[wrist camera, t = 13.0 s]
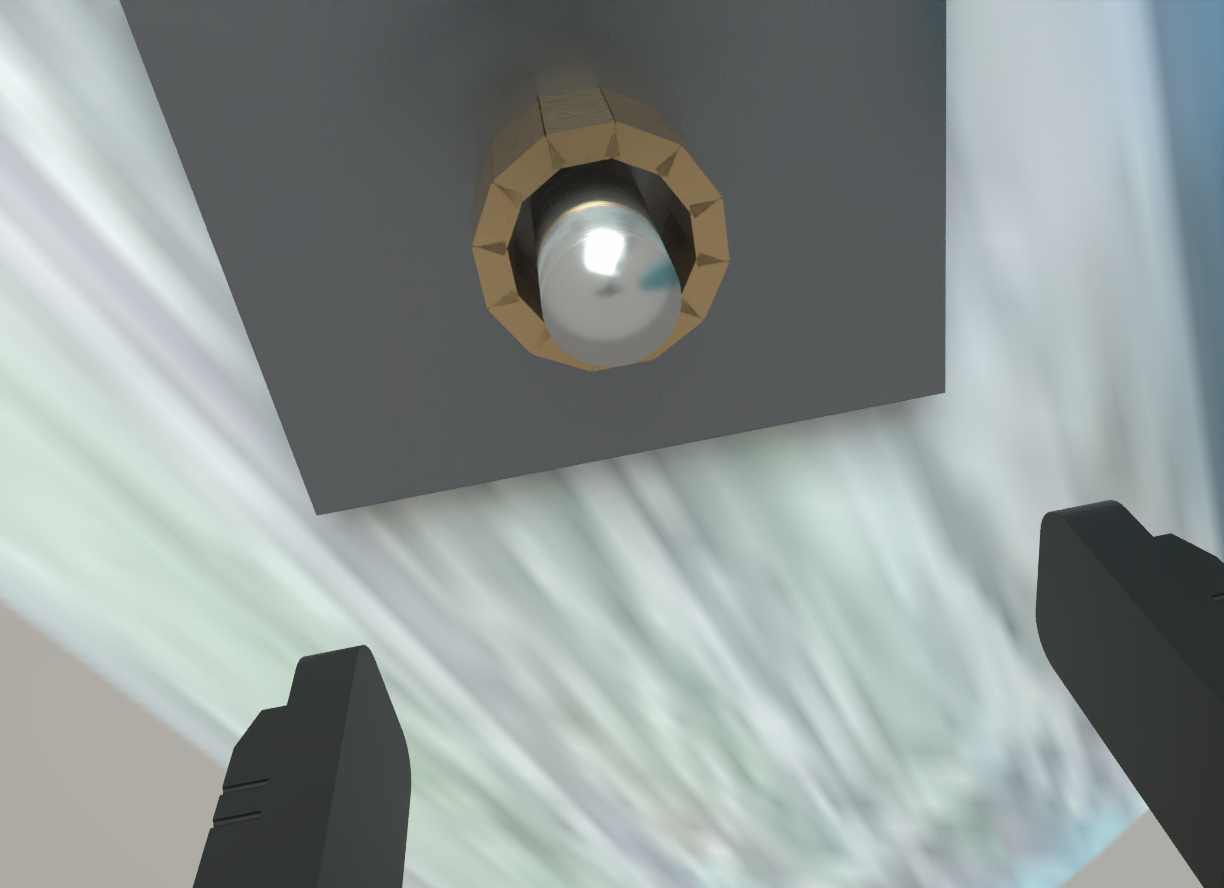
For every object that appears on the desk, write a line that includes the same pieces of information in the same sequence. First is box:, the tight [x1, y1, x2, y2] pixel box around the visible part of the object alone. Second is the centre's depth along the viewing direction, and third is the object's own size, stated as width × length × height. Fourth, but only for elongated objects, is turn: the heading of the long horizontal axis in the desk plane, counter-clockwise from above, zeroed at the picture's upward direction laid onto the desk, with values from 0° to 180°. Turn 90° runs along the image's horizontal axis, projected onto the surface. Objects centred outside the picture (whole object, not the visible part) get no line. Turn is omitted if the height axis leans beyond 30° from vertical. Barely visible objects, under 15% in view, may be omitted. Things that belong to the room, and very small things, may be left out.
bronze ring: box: [472, 87, 730, 372], centre depth 26 cm, size 6×6×4 cm
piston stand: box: [120, 0, 946, 515], centre depth 26 cm, size 20×16×9 cm
